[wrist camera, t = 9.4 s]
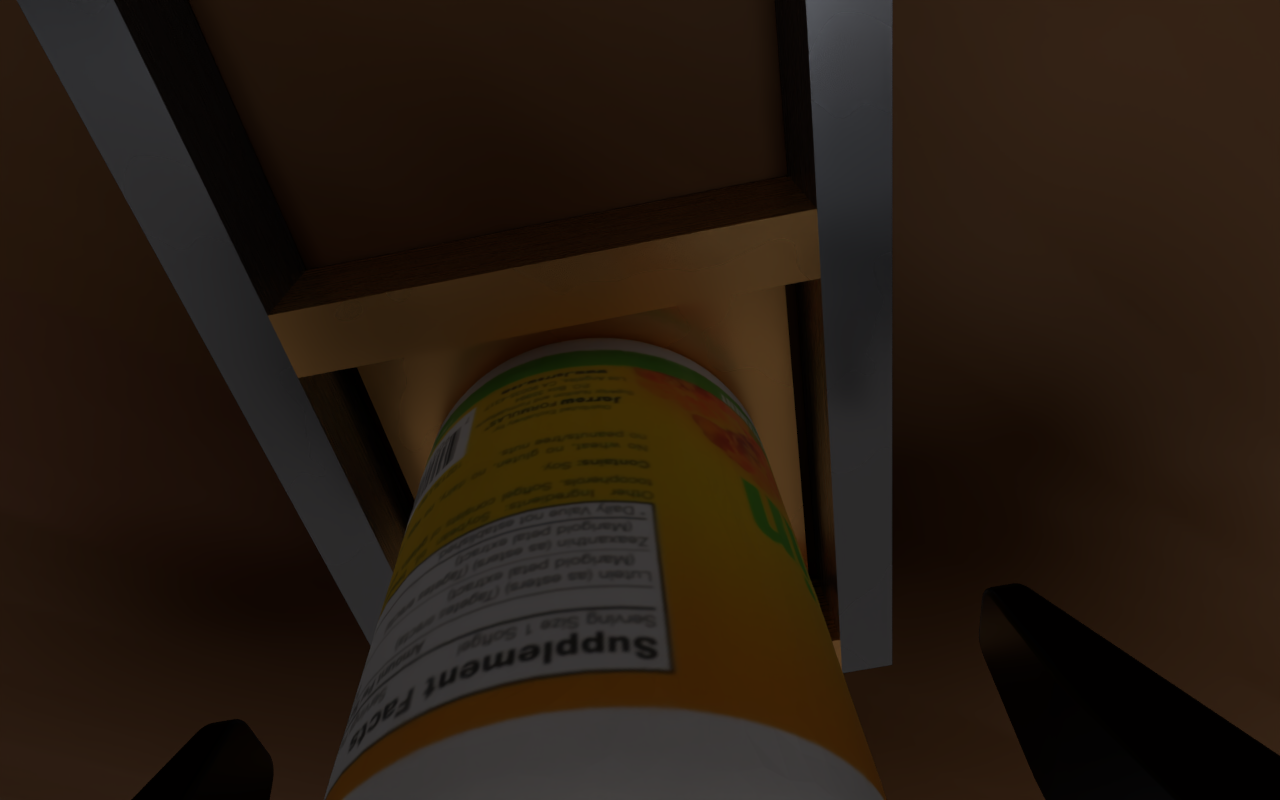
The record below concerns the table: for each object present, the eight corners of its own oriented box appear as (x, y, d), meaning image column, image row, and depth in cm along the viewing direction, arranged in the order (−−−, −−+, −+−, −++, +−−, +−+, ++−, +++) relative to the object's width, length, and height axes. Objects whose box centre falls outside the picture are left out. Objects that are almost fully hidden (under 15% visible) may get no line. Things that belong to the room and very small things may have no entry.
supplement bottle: (782, 553, 14) (1091, 1511, 5) (499, 617, 14) (373, 1600, 6) (728, 286, 11) (1206, 1441, 2) (375, 377, 11) (-224, 1622, 3)
